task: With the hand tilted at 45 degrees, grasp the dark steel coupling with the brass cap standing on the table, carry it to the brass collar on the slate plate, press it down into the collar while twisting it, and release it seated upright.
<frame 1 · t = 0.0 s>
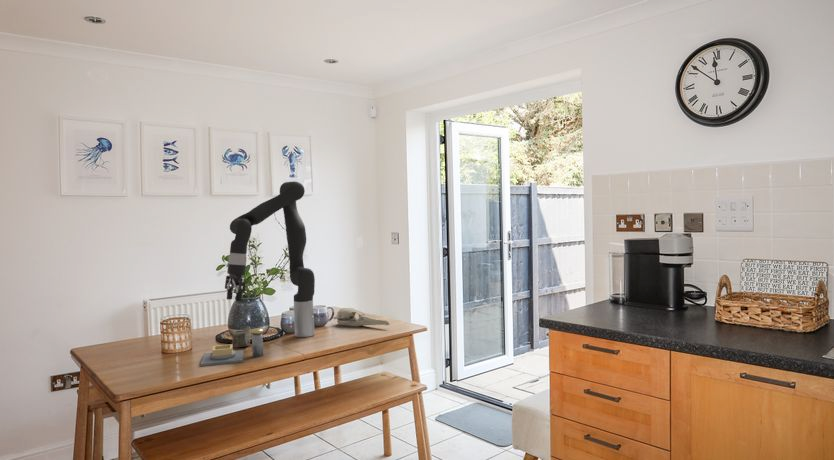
hand: (233, 300, 237), 22 cm above the table, tool pointing down, fingers open, 8 cm apart
bird skull: (363, 326, 281), on the table
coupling: (257, 355, 229), on the table
socket post: (223, 359, 225), on the table
rock: (242, 345, 249), on the table
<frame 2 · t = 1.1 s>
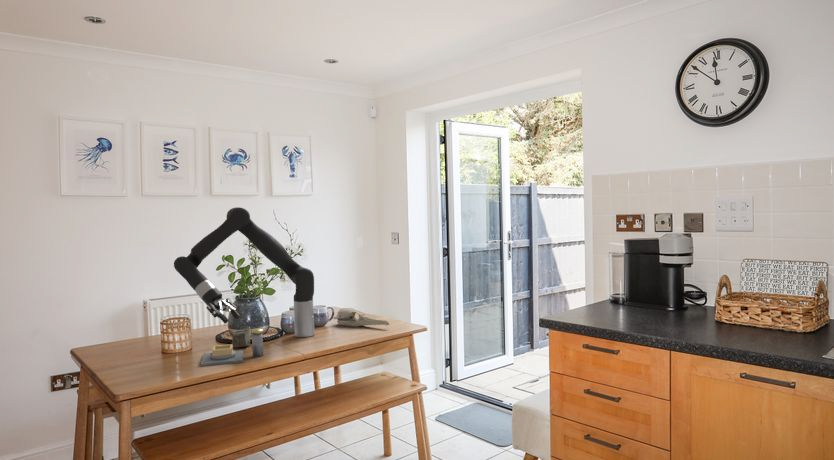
hand: (233, 319, 231), 15 cm above the table, tool tilted 45°, fingers open, 8 cm apart
nothing on the table moved.
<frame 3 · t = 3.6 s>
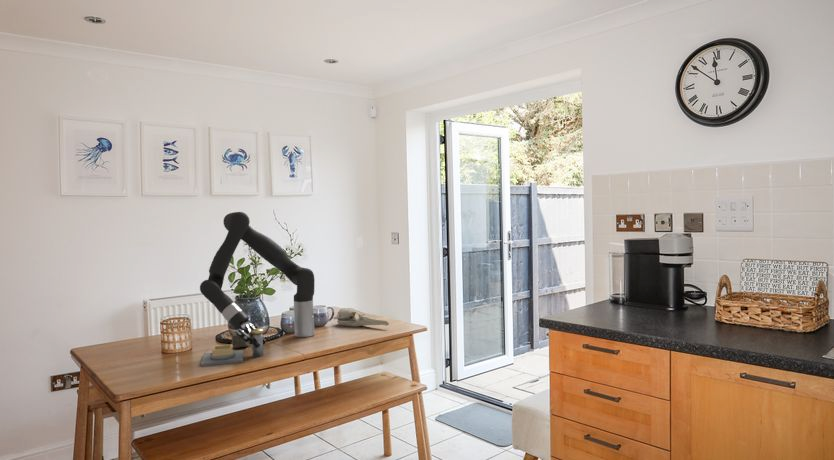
hand: (261, 344, 228), 5 cm above the table, tool tilted 45°, fingers closed on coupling, 4 cm apart
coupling: (258, 355, 229), on the table, touching gripper
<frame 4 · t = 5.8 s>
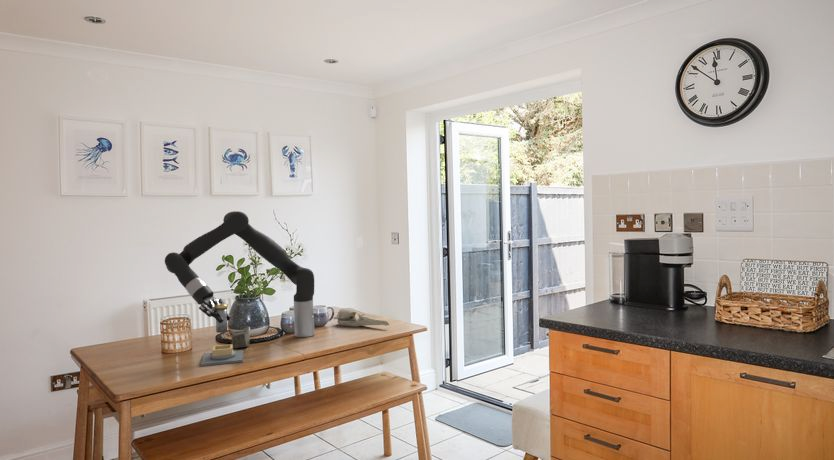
hand: (225, 320, 223), 16 cm above the table, tool tilted 45°, fingers closed on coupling, 4 cm apart
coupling: (221, 331, 224), point 12 cm above the table, touching gripper
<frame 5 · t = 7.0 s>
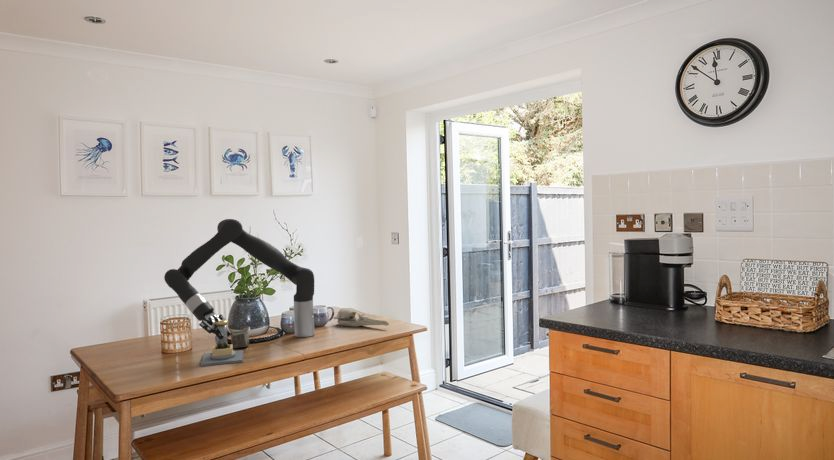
hand: (225, 336, 224), 10 cm above the table, tool tilted 45°, fingers closed on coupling, 4 cm apart
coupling: (222, 347, 224), point 5 cm above the table, touching gripper
when the fingers open (7 cm above the table, at t = 8.0 s): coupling stays where it is, resting on socket post.
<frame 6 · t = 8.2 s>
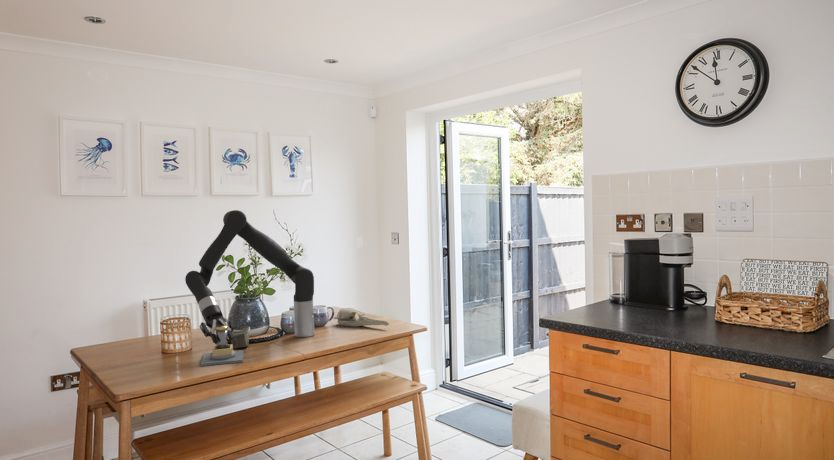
hand: (224, 341, 223), 8 cm above the table, tool tilted 45°, fingers open, 6 cm apart
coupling: (222, 352, 225), point 3 cm above the table, touching socket post
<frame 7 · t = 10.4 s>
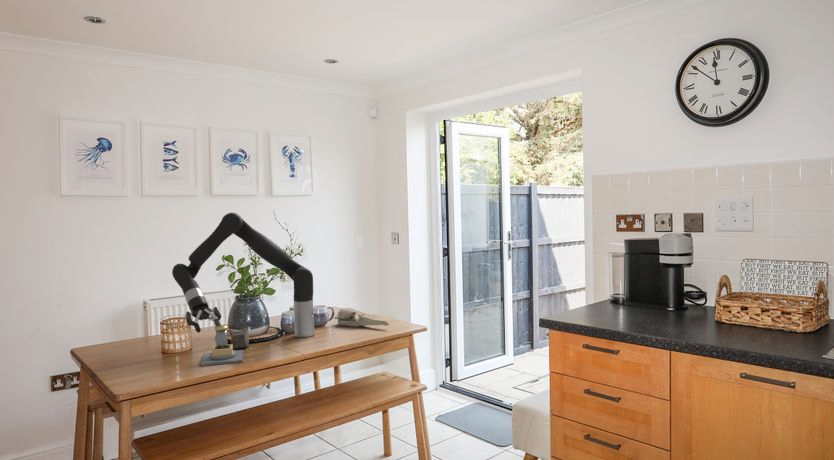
hand: (209, 329, 232), 11 cm above the table, tool tilted 45°, fingers open, 8 cm apart
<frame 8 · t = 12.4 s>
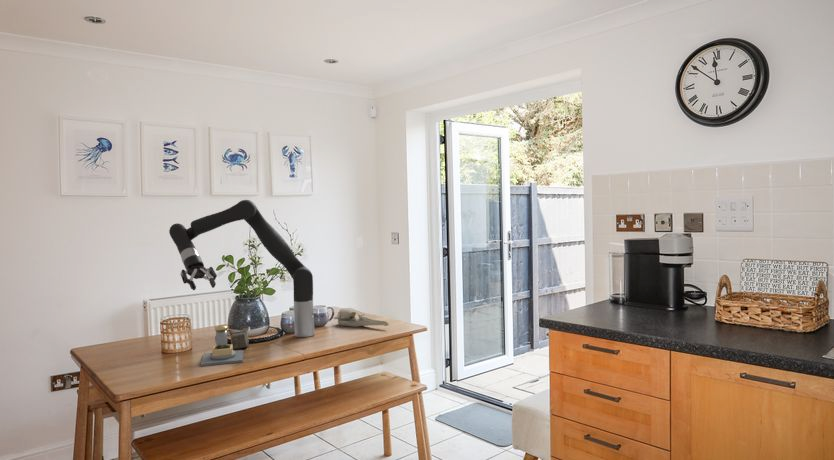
hand: (204, 287, 234), 29 cm above the table, tool tilted 45°, fingers open, 8 cm apart
at the end: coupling 0.5 cm off-centre on the socket post, point 2.5 cm above the socket post's base; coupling tilted 0°; the gripper is holding nothing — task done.
